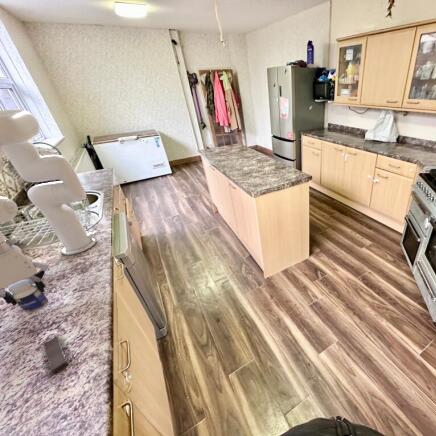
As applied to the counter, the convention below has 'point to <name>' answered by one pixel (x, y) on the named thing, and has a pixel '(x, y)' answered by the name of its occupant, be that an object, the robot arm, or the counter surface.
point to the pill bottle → (28, 296)
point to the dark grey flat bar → (55, 354)
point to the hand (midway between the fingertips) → (29, 296)
